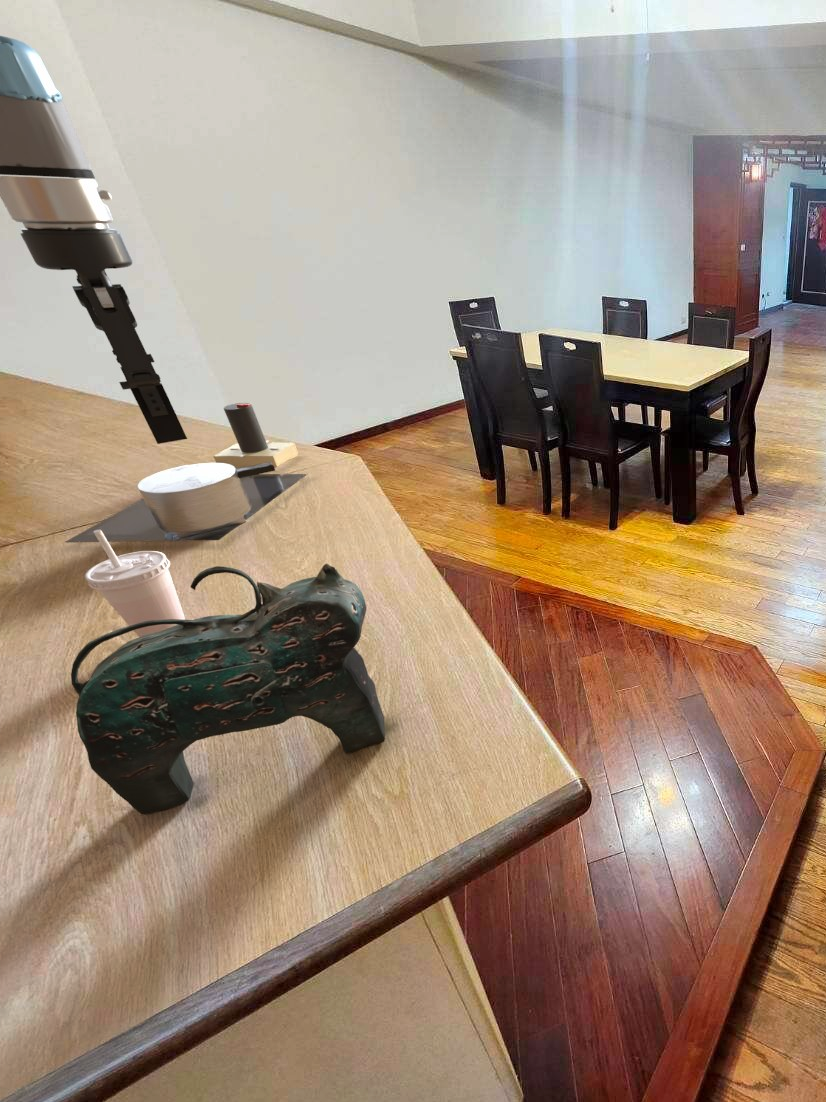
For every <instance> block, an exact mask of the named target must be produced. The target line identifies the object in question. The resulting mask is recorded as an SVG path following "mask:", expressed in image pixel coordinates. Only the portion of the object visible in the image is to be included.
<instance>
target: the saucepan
mask: <svg viewBox="0 0 826 1102" xmlns="http://www.w3.org/2000/svg"><path fill="white" fill-rule="evenodd" d="M275 471H276V467H274V466H273V464H272V463H271V462H268V463H263V464H258V465H254V466H249V467H244V468H239V469H236V468H235V467H234V466H232V465H230V464H225V463H216V462H202V463H191V464H186V465H180V466H176V467H171V468H167V469H164V470H161V471H158V472H155V473H153V474H150V475H148V476H146V477H145V478H143V479H142V480H140V481H139V482H138V483H137V485H136V486H137V489H138V491H139V494H140V495H141V497H142V499H144V501H145V503H146V504H147V506H148V508H149V510H150V512H151V514H152V516H153V518H154V519H155V521H156V523H157V525H158V527H159V528H160V529H162V530H164V531H168V532H176V533H177V535H178V537H179V538H184V537H188V536H192V535H196V534H200V533H204V532H208V531H212V530H216V529H220V528H224V527H228V526H232V525H236V524H240V523H241V524H243V523H246V522H247V520H245V518H244V515H245V514H247V513H248V512H249V511H250V510H251V503H250V501H249V499H248V496H247V494H246V492H245V489H244V487H243V485H242V482H241V480H240V478H243V477H247V476H252V475H257V474H267V473H270V472H275ZM241 524H240V525H241Z"/></svg>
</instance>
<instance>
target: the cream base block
mask: <svg viewBox="0 0 826 1102" xmlns="http://www.w3.org/2000/svg"><path fill="white" fill-rule="evenodd" d="M266 443H267V445H268V448H267V449H265V450H262V451H258V452H251V453H246V452H242V451H241V449H240V447H239V444H238V442H236V443H235V444H233V445H231V446H229V447H227V448H225V449H223V450H222V451H220V452H218V453H216V454H215V455H213V460H214V461H215V463H225V464H230V465H232V466H234V467H235V468H236V469H239V468H244V467H249V466H254V465H258V464H263V463H268V462H271V463H272V464H273V466H274V468H276V467H279V466H280V465H282V464H283V463H285V462H287V461H288V460H292V459H295V458H296V457H298V456H299V452H298V449H297V447H296V443H295V442H270V440H266Z"/></svg>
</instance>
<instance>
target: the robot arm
mask: <svg viewBox="0 0 826 1102" xmlns="http://www.w3.org/2000/svg"><path fill="white" fill-rule="evenodd" d="M63 101H64V100H63V96H62V93H61V92H60V91H59V90H58V89H57V88H56V86H55V84H54V82H53V80H52V78H51V76H50V74H49V72H48V69H47V67H46V66H45V64H44V62H43V60H42V58H41V56H40V55H39V53H38V52H37V51H36V50H35V49H34V48H33V47H31V46H30V45H29V44H27V43H25V42H23V41H22V40H18V39H15V38H12V37H8V36H4V35H0V199H1V201H2V203H3V204H4V206H5V208H6V211H7V213H8V215H9V216H10V218H11V220H13V221H15V222H17V223H22V224H23V226H24V228H21V229H20V230H21V231H19V234H20V236H21V238H22V241H24V244H25V246H26V247H27V250H28V251H29V253H30V256H31V257H32V259H33V261H34V263H35V264H36V265H37V266H38V267H40V268H41V269H45V270H53V271H54V270H55V271H68V270H70V271H71V270H73V271H75V272H76V274H77V275H76V281H77V283H78V285H71V287H72V290H73V291H74V293H75V295H76V298H77V299H78V302H79V304H80V305H81V306H82V307H83V308H85V309H86V311H87V314H88V315H89V317H90V319H91V321H92V323H93V325H94V327H95V328H96V329H97V330H99V331H102V332H103V333H104V334H105V337H106V338H107V340H108V342H109V344H110V346H111V348H112V350H111V352H112V354H113V355H114V356H115V357H116V358H115V359H116V362H117V363H118V364H120V370H121V372H122V374H123V376H124V379H125V381H119V382H118V383H119V385H120V387H121V389H122V390H123V391H124V390H130V391H131V393H132V394H133V395H132V396H133V397H134V400H135V401H136V403H137V405H138V407H139V409H140V411H141V414H142V416H143V417H144V419H145V421H146V423H147V425H148V428H149V430H150V432H151V434H152V435H153V438H154V439H155V441H156V444H157V445H161V444H166V443H171V442H178V441H184V440H188V436H187V435H186V433H185V431H184V429H183V426H182V424H181V422H180V420H179V417H178V416H177V414H176V411H175V409H174V407H173V405H172V402H171V400H170V398H169V396H168V394H167V392H166V389H165V387H164V385H163V384H162V381H161V377H160V375H159V374H158V373H157V372H156V370H155V368H154V365H153V363H155V360H154V358H153V356H152V354H151V353H147V351H146V349H145V347H144V345H143V343H142V341H141V339H140V336H139V334H138V332H137V329H136V328H137V327H138V322H137V319H136V317H135V314H134V313H133V311H132V309H131V307H130V304H131V302H130V299H129V297H128V294H127V293H126V290H125V289H124V286H122V284H121V283H115V284H114V283H113V284H112V283H111V279H110V277H109V276H108V274H107V272H106V270H107V269H123V268H128V267H131V266H132V265H133V262H134V261H133V259H132V256H131V255H130V252H129V249H128V248H127V245H126V243H125V241H124V239H123V236H122V234H121V232H120V231H117V229H116V228H110V226H109V224H111V223H112V222H113V221H114V218H113V216H112V213H111V211H110V209H109V207H108V205H107V204H105V203H104V202H110V201H112V200H113V197H112V194H111V193H110V192H109V191H108V190H104V189H98V187H99V184H98V182H97V180H96V177H95V175H94V172H93V169H92V167H91V165H90V161H89V160H88V157H87V155H86V152H85V150H84V148H83V145H82V143H81V140H80V138H79V136H78V134H77V132H76V129H75V127H74V124H73V122H72V120H71V117H70V115H69V113H68V110H67V108H66V105H65V103H64V102H63Z"/></svg>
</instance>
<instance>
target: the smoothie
mask: <svg viewBox="0 0 826 1102" xmlns="http://www.w3.org/2000/svg"><path fill="white" fill-rule="evenodd" d="M94 534H95V535H96V537H97V539H98V540H99V542H98V543H99V544H100V546H101V547H102V549H103V550H104V552H105V554H106V555H107V557H108V558H107V559H106V560H103V561H101V562H99V563H97V564H96V565H94V566H92V567H90V569H88V570H87V571H86V573H85V574H84V579H85V581H86V582H87V585H88V587H89V588H91V589H92V590H96V591H98V592H99V593H100V595H101V596H102V597H103V598H104V600H106V601H107V603H108V604H110V606H111V607H112V608H113V609H114V611H115V612H116V613H117V614H118V615H119V616H120V617H121V618H122V619H123V620H124V621H125V623H126V624H127V625H128V626H131V625H135V624H138V623H141V622H145V621H150V620H167V619H182V620H186V617H185V614H184V611H183V607H182V605H181V602H180V599H179V596H178V594H177V593H178V592H177V590H176V588H175V585H174V582H173V578H172V576H171V573H170V570H169V568H170V566H171V561H170V560H169V559H168V558H167V555H166V554H165V553H164V552H161V551H156V550H142V551H135V552H129V553H124V554H121V555H117V554H116V553H115V551H114V550H113V548H112V546H111V544H110V542H108V541H107V539H106V538H105V536H104V534H103V532H102V531H101V530H95V531H94ZM176 625H178V624H161V625H153V626H147V627H143V628H140V629H136V630H133V631H132V632H134V633H135V634H136V635H137V637H138V638H139V637H142V636H145V635H149V634H153V633H156V632H160V631H162V630H165V629H168V628H170V627H173V626H176Z"/></svg>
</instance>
